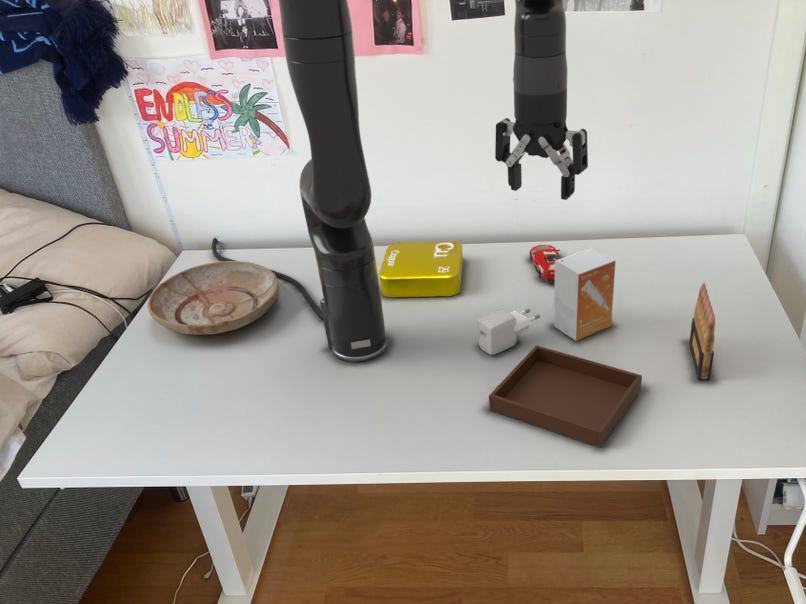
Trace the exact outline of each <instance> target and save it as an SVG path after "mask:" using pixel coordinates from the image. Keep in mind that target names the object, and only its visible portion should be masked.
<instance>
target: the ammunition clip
mask: <svg viewBox="0 0 806 604" xmlns="http://www.w3.org/2000/svg"><path fill="white" fill-rule="evenodd" d="M715 327H716V317H715V312H714V309H713V306H712V302H711V299H710V296H709V292H708V289H707V285H706V283H705V282H702V284H701V285H700V288H699V290H698V295H697V300H696V304H695V306H694V315H693V317H692V320H691V327H690V333H689V342H688V344H689V349H690V354H691V358H692V362H693V366H694V370H695V374H696V378H697V381H698V382H699V381H701V382H702V381H703V382H706V381H707V382H710V381H711V378H712V377H711V376H712V369H713V362H714V355H715V352H714V345H715V337H716V336H715V330H716V329H715Z"/></svg>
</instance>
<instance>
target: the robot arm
mask: <svg viewBox="0 0 806 604" xmlns="http://www.w3.org/2000/svg"><path fill="white" fill-rule="evenodd" d="M514 2H515V3H514V4H515V11H514V13H515V14H514V25H513V26H514V27H513V29H514V30H513V32H514V33H513V34H514V36H513V37H514V60H513V70H512V71H513V72H512V73H513V74H512V75H513V77H512V81H513V82H512V83H513V107H514V108H513V114H514V119H515V122H514V121H511V119H510V118H508V117H505V118H504V119H502V120H500V121H499V122H497V123H496V124H495V142H494V143H495V147H494V148H495V150H494V152H495V153H494V156H495V157H494V158H495V160H496V161H497V162H501V163H504V164H505V166H506V167H507V184H508V186H509V187H510V190H511V191H515V192H517V191H518V190H520V189H521V187H522V184H523V183H522V179H523V177H522V163H521V162H520V161H521V160H522V159H523V157H524V156H525V155H526V154H527V156H531V157H535V156H538V157H540V158H542V159H543V158H544V159H548V158H549V159H550V161H551V162H552V164H553V166H556V167H557V168H558V170H559V172H560V173H561V174H562V175H561V177H560V200H564V201H567V200H568V199H569V198H570V197H571V196H572V195H574V193H575V191H576V175H577V176H579V175H581V174H582V173H583V172H584V171H585V170H587V169H588V167H589V158H588V157H589V155H588V154H589V152H588V131H587V130H586V129H585V128H580V129H579V130H569V129H568V127H567V126H568V125H567V116H568V60H567V17H566V11H565V7H564V0H514ZM278 6H279V13H280V14H279V15H280V23H281V33H282V41H283V47H284V48H283V49H284V53H285V60H286V66H287V70H288V71H287V72H288V74H289V79H290V82H291V86H292V90H293V92H294V95H295V99H296V102H297V104H298V108H299V110H300V113H301V116H302V118H303V123H304V124H305V128H306V131H307V135H308V141H309V148H310V159H309V160H308V162H306V163H305V165H304V166H303V168H302V169H301V173H300V176H299V194H300V200H301V203H302V204H301V205H302V208H303V214H304V218H305V223H306V228H307V232H308V236H309V240H310V243H311V246H312V248H313V252H314V256H315V260H316V266H317V270H318V275H319V280H320V287H321V292H322V297H323V298H321V299H320V301H319V305H320V308H319V306H318V304H317V303H316V302H315V301H314V300H313V298H312V297H311V295H310V294H309V292H308V291H307V289H306V288H305V286H303V285H302V284H301V283H300V282H299V281H297V280H296V279H295V278H293V277H291V276H289V275H287V274H284V273H282V272H279V271H276V270H273V269H270V268H268V269H269V270H271V271H272V272H273V273H274V274H275V276H276V277H277V278H280V279H283V280H284V281H287V282H289V283H291V284H293V285H294V286H295V287H296V288H298V290H299V291H300V292H301V294H302V295H303V297H304V298H305V300H306V301H307V302H308V304H309V305H310V306H311V308H312V309H313V312H315V314H316V315H317V316H318V318H319V319H320V320H321V321H323V326H324V331H325V336H326V341H327V348H328V349H329V350H331V351H332V352H333V355H334V356H335V357H336V358H337V359H338V360H339V359H340V360H342V361H344V362H350V363H357V362H366V361H369V360H372V359H375V358H377V357H379V356H381V355H382V354H383V353H384V352H386V350H387V348H388V343H389V342H388V336H387V332H386V326H385V315H384V310H383V304H382V295H381V286H380V279H379V273H378V267H377V259H376V252H375V246H374V239H373V237H372V234H371V232H370V230H369V227H368V225H367V222H366V216H367V214H368V212H369V209H370V208H371V207H370V206H371V203H372V188H371V182H370V178H369V177H370V176H369V173H368V169H367V168H368V167H367V164H366V158H365V153H364V149H363V142H362V137H361V130H360V112H359V94H358V83H357V71H356V70H357V69H356V55H355V54H356V53H355V44H354V32H353V23H352V17H351V12H350V7H349V2H348V0H278ZM513 134H514V136H515V137H516V139H517V141H518V144H516V145H515V147H514V148H513V150H512V151H511V135H513ZM567 140H568V142H569V147H571V148H572V157H571V152H570V150H569V149H568V147H567V146H566V144H565V142H566V141H567ZM218 242H219V241H218V238H217V237H214V238H213V239H212V242H211V251H212V254H213V257H215V258H216V259H217V260H219V261H220V262H222V261H236V260H235V259H231V258H227V257H225V256H223V255H220V254H219V252H218V251H217V243H218Z"/></svg>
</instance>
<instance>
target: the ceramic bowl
mask: <svg viewBox="0 0 806 604" xmlns="http://www.w3.org/2000/svg"><path fill="white" fill-rule="evenodd" d="M269 269H270V268H267V267H266V266H264V265H261V264H258V263H256V262H255V263H254V262H249V261H240V260H235V261H214V262H213V261H212V262H208V263H204V264H199V265H196V266H192V267H189V268H187V269H184V270H182V271H179V272H177V273H176V274H173V275H172V276H170V277H168V278H167V279H165V280H164V281H162V282H161V283H159V284H158V285H157V287H155V288H154V290H152V292H151V294H150V295H149V297H148V301H147V310H148V312H149V315H150V317H151V318H152V319H153V320H154V321H155V322H156V323H157V324H159V325H160V326H162V327H163V328H165V329H167V330H170V331H173V332H176V333H179V334H186V335H195V336H196V335H215V334H216V335H217V334H222V333H226V332H231V331H235V330H238V329H240V328H243V327H245V326H247V325H249V324H251V323H252V322H255V321H257V320H258V319H260V318H261V317H262V316H263V315H265V314H266V313H267V312H268V311H269V309H271V307H272V306H273V305H274V303H275V302H276V300H277V298H278V295H279V292H280V291H279V290H280V283H279V280H278V277H277V276H275V274H274V273H273V272H272V271H271V270H272V269H270V270H269Z"/></svg>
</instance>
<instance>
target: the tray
mask: <svg viewBox="0 0 806 604" xmlns="http://www.w3.org/2000/svg"><path fill="white" fill-rule="evenodd" d="M642 381H643V375H642V374H639V373H635V372H632V371H628V370H625V369H621V368H618V367H614V366H611V365H607V364H603V363H600V362H597V361H593V360H589V359H586V358H582V357H579V356H576V355H572V354H569V353H565V352H562V351H558V350H555V349H552V348H547V347H545V346H541V345H535V346H534V347H532V349H531V350H530V351H529V352H528V353H526V355H525V356H524V357H523V359H522V360H521V361H520V362H519V363H518V364H516V366H515V367H514V368H513V369H512V370H511V371H510V372H509V374H507V376H506V377H505V378H504V379H503V380H502V381H501V382H500V383H499V384H498V385H497V386H496V387H495V388H494V390H493V391H491V393H490V394H489V395H488V402H489V403H488V405H489V406H488V408H489V411H491V412H494V413H496V414H500V415H503V416H505V417H509V418H510V419H513V420H514V419H515V420H518V421H520V422H523V423H526V424H529V425H532V426H535V427H537V428H540V429H544V430H547V431H550V432H552V433H556V434H559V435H562V436H565V437H568V438H571V439H574V440H576V441H579V442H582V443H586V444H589V445H592V446H594V447H597V448H599V449H600V448H601V449H602V446H603V445H604V444H605V442H606V441H607V440H608V438H609V437H610V435H611V433H613V430H614V429H615V428H616V427H617V425H618V424H619V422H620V421H621V419H622V418H623V416H624V415H625V414H626V413H627V410H628V409H629V408H630V406H631V405H632V403H633V402H635V401H634V400H636V398H637V396H638V395H639V393H640V392H641V390H642Z"/></svg>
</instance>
